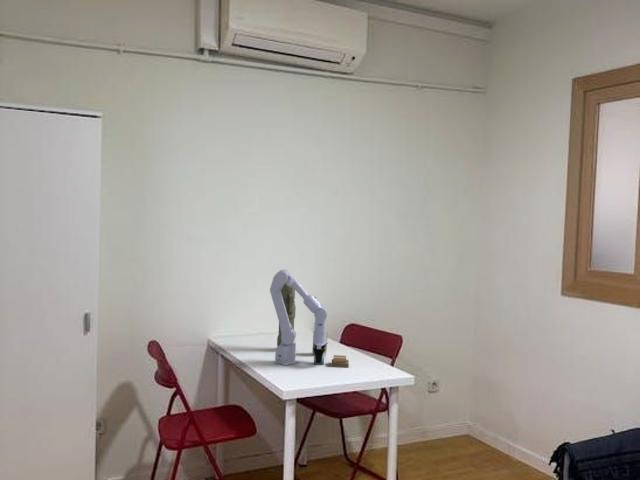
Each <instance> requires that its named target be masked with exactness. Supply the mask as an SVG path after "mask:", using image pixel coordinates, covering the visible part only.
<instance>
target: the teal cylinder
mask: <svg viewBox="0 0 640 480" xmlns="http://www.w3.org/2000/svg"><path fill="white" fill-rule="evenodd" d="M313 365H315V366H324V365H325V355H323V356H322V361H321V363H316V357H315V355H313Z"/></svg>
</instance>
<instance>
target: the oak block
mask: <svg viewBox="0 0 640 480" xmlns="http://www.w3.org/2000/svg"><path fill="white" fill-rule="evenodd" d="M332 359H333V363H346V360H347V355H342V354H341V355H340V354H333V358H332Z"/></svg>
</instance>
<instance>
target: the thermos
mask: <svg viewBox="0 0 640 480" xmlns="http://www.w3.org/2000/svg"><path fill="white" fill-rule="evenodd" d="M281 294H282V298H283V301H284V305H285V308H286V311H287V315H288V318H289V322H290V324H291V326H292V328H293V330H294V331H295V319H296V309H297V307H296V302H295V298H296V290H295V289H294V288H293V287H291V286H287V283H285V284H284V286H283V287H282V289H281ZM295 339H296V338H295ZM295 339H294V341H295ZM276 341H277V342H276V347H277V346H279V345H280V344H281V342H282V341H281V329H280V323H279V322H278V336H277V339H276Z"/></svg>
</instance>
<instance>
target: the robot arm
mask: <svg viewBox="0 0 640 480" xmlns="http://www.w3.org/2000/svg"><path fill="white" fill-rule="evenodd" d="M285 283H287V286H291V287H293V288H294V289H295V292H296V293H298V294H299V296H300V297H301V298H302V299H303V304H304V306H305V307H306V308H307V309H308V310H309V311H310V312H311V313H312V314H313V316H314V319H315V320H314V328H313V329H314V330H313V335H314V341H313V340H312V344H313V343H314V346H315V348H313V347H312V350H314V353H315V357H316V363H321V361H322V356H323V353H324V351H325V349H324V348H325V346H326V344H327V345H329V342H328V341H327V342H326V331H327V317H328V311H327V308H326V307H325V306H324V305H323V304H322V303H320V302H319V300H318V299H317V296H316V295H313V294H309V292H307V291H306V289H305V288H304V287H303V286H302V285H301V283H300V282H299V281H298V280H297V278H295V276H294V275H293V274H291V273H290V272H289V271H288V270H287V269H281V270H279V271H278V272H276V274H274V276H273V277H272V282H271V285H270V288H269V292H270V293H269V294H270V295H271V299H272V303H273V305H274V310H275V313H276V316H277V319H278V324H279V323H280V329H281V341H282V342H281V344H280V345H279V346H277V345H276V348H275V353H274V354H275V356H274V361H273V362H274V363H275V364H279V365H283V366H288V365H292V364H293V365H294V364H297V363H300V361H299V360H296V351H297V350H296V349H297V348H296V347H297V345H296V344H297V343H296V341H295V340H294V339H296V336H297V333H296V331H295V329H294V330H293V328H292V326H291V324H290V322H289V318H288V315H287V311H286V308H285V305H284V301H283V298H282V294H281V289H282V287H283V286H284V284H285Z"/></svg>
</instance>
